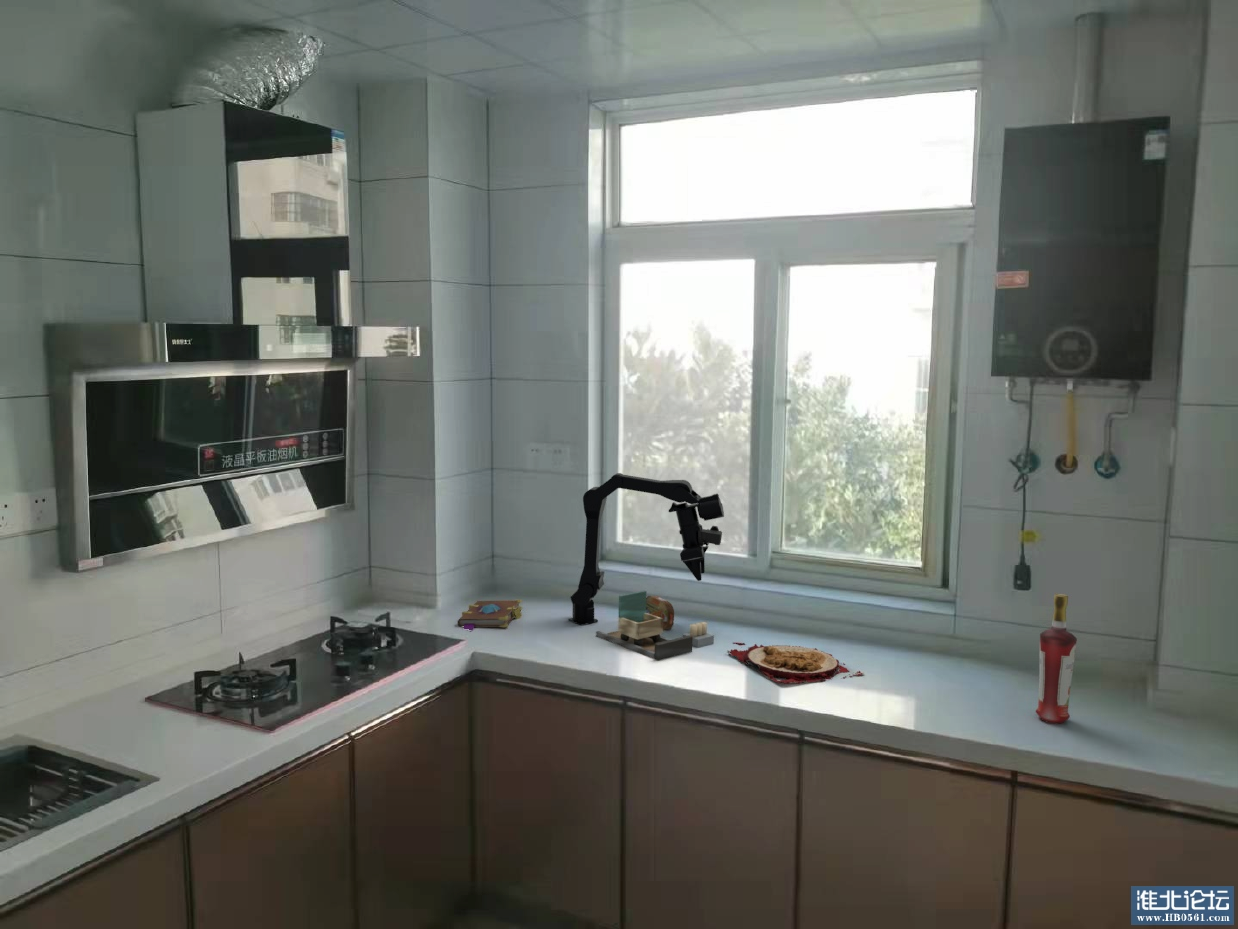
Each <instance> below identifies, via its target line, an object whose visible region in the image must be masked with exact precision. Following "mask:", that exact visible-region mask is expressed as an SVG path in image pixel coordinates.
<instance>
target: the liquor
mask: <svg viewBox="0 0 1238 929" xmlns="http://www.w3.org/2000/svg"><path fill="white" fill-rule="evenodd" d="M1053 599H1054V600H1053V606H1054V610H1053V611H1054V612H1053V616H1052V623H1051V628H1049V629H1044V630H1043V631H1042V632H1040V634H1039V656H1038V657H1039V664H1038V665H1039V677H1038V678H1039V680H1038V702H1037V703H1038V704H1037V705H1038V706H1037V708H1036V710H1035V713H1036V715H1038V716H1039V718H1040V720H1042V721H1043V722H1046V721H1047V723H1050V724H1055V723H1058V724H1062V723H1065V721H1067V720H1068V719H1071V717H1070V716H1071V715H1070V714H1069V704H1070V697H1071V696H1070V695H1071V687H1072V686H1071V685H1072V677H1073V673H1074V672H1073V671H1074V664H1075V659H1076V658H1075V657H1076V649H1077V648H1076V647H1077V641H1078V638H1077V637H1076V636H1075V635H1074V634H1073V633H1071V632H1070V631H1068V630H1067V611H1066V610H1067V606H1068V602H1069V596H1068V595H1066V594H1064V593H1063V594H1062V593H1061V594H1060V593H1055V594H1054V598H1053Z"/></svg>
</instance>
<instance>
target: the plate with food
mask: <svg viewBox="0 0 1238 929" xmlns="http://www.w3.org/2000/svg"><path fill="white" fill-rule="evenodd" d="M732 644H733V645H737V646H741V648H743V647H742V646H746V643H745V642H736V641H735V642H732ZM741 648H740V649H741ZM728 653H729V654H730V655H731V657H736V658H737V661H738V662H739V663H742V662H743V663H744V664H746V665H748V666H750V668H751V669H753V670H754V669H755V668H754V667H753V666H752V665H751V663H749V662H752V663H753V664H755V665H756V666H758V670H756V672H758V673H759V674H761V675H762V676H764V677H765V678H766V679H767V680H772V681H773V682H775V683H778V684H781V683H782V682H783V683H782V684H784V685H786V684H787V685H789V684H792V683H796V684H804V683H805V682H807V683H814V682H819V681H820V682H821V683H822V682H826V680H832V679H833V678H834V677H835V676H837V675H839V674H846V673H850V674H848V675H849V676H846V675H845V676H843V677H841V678H840V679H847V678H852V676H853V677H854V676H861V675H863V674H864V672H861V671H860V670H857V671H856V672H854V674H852V675H851V671H850V670H848V668H847V667H844V666H846V664H845V663H844V662H842V663H843V664H839V663H840V661H839V660H838V659H837V658H835V657H833V654H831V653H828V652H825V651H823V650H819V649H817V648H816V647H815V648H810V647H804V646H801V645H800V646H797V645H795V646H794V645H792V646H791V645H778V644H777V645H773V644H772V645H766V646H764V645H763V644H760V645H758V644H757V643H755V644H754V645H752V646H750V647H748V648H747V649H746V650H744V649H743V650H738V649H737V648H734V649H730V651H728ZM843 665H844V666H843ZM778 679H780V680H778ZM781 679H782V680H781Z"/></svg>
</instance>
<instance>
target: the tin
mask: <svg viewBox="0 0 1238 929" xmlns="http://www.w3.org/2000/svg"><path fill="white" fill-rule="evenodd" d="M646 613H649V614H652V615H655V616H657V617H660V618H663V631H664V630H671V629H672V628H673V626H674V622H675V609H674V607H673V605H672V603H671V602H670V601H668V600H666V599H663V598H662V597H659V596H657V595H648V596H646Z"/></svg>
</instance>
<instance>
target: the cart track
mask: <svg viewBox="0 0 1238 929" xmlns="http://www.w3.org/2000/svg"><path fill="white" fill-rule="evenodd" d="M595 637H597V638H600V639H602V640H604V641H608V642H609V643H613V644H615V645H617V646H620V647H622V648H625V649H628V650H629V651H633V652H636V653H637V654H641V655H644V656H646V657H648V658H650V659H653V660H656V661H662V660H665V659H670V658H673V657H677V656H681V655H684V654H685V655H686V654H689V653H692V652H693V646H692V642H693V637H692V636H689V635H688V636H684V637H683V636H681V637H677V638H673V639H670V638H667V637H665V636H662V635H660V641H659V642H654V641H653V640H652V636H650V637H646V638H642V641H643V644H642V646H637V645H635V644H634V639H635V638H632V637H629V640H628V641H624V640H621V633H619V632H618V630H615V631H611V632H603V631H601V630H598V631H597V630H596V631H595Z"/></svg>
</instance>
